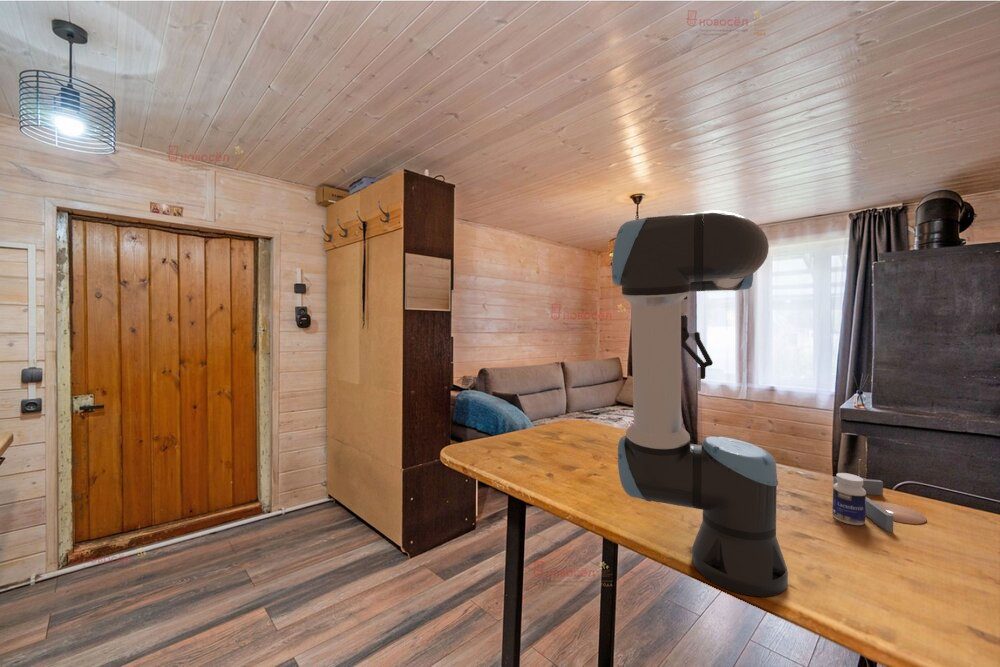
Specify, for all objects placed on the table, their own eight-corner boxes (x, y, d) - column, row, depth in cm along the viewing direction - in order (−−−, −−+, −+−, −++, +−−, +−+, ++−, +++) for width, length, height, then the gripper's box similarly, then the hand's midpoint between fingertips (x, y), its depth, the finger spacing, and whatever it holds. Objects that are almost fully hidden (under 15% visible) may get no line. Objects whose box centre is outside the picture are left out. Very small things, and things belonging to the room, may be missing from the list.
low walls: (945, 537, 85) (946, 520, 85) (886, 531, 88) (886, 515, 88) (879, 493, 106) (880, 480, 106) (833, 489, 109) (833, 476, 109)
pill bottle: (835, 522, 92) (836, 478, 91) (829, 511, 97) (830, 470, 96) (869, 528, 89) (870, 483, 89) (861, 517, 94) (862, 474, 94)
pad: (938, 526, 90) (938, 524, 90) (883, 521, 92) (883, 519, 92) (906, 505, 99) (906, 504, 99) (857, 501, 102) (857, 500, 102)
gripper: (722, 314, 115) (722, 389, 116) (631, 315, 127) (631, 383, 128) (722, 314, 109) (721, 394, 109) (625, 315, 121) (625, 387, 121)
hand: (672, 388), depth 119 cm, fingers open, 13 cm apart
